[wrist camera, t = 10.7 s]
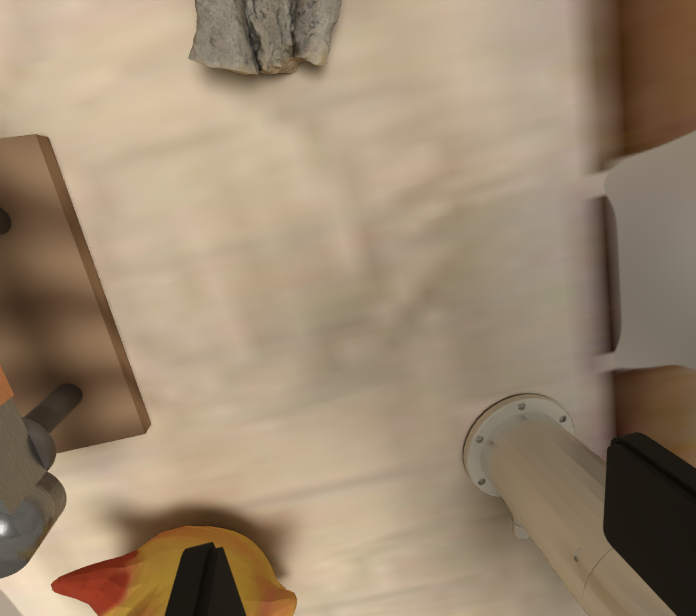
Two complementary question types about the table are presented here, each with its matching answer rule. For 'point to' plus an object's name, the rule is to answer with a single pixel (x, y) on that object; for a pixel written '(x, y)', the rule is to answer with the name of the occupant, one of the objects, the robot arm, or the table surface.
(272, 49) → the rock
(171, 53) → the table surface
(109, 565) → the toy
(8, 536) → the two-ball handle bar
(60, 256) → the rack
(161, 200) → the table surface
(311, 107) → the table surface
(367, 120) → the table surface
